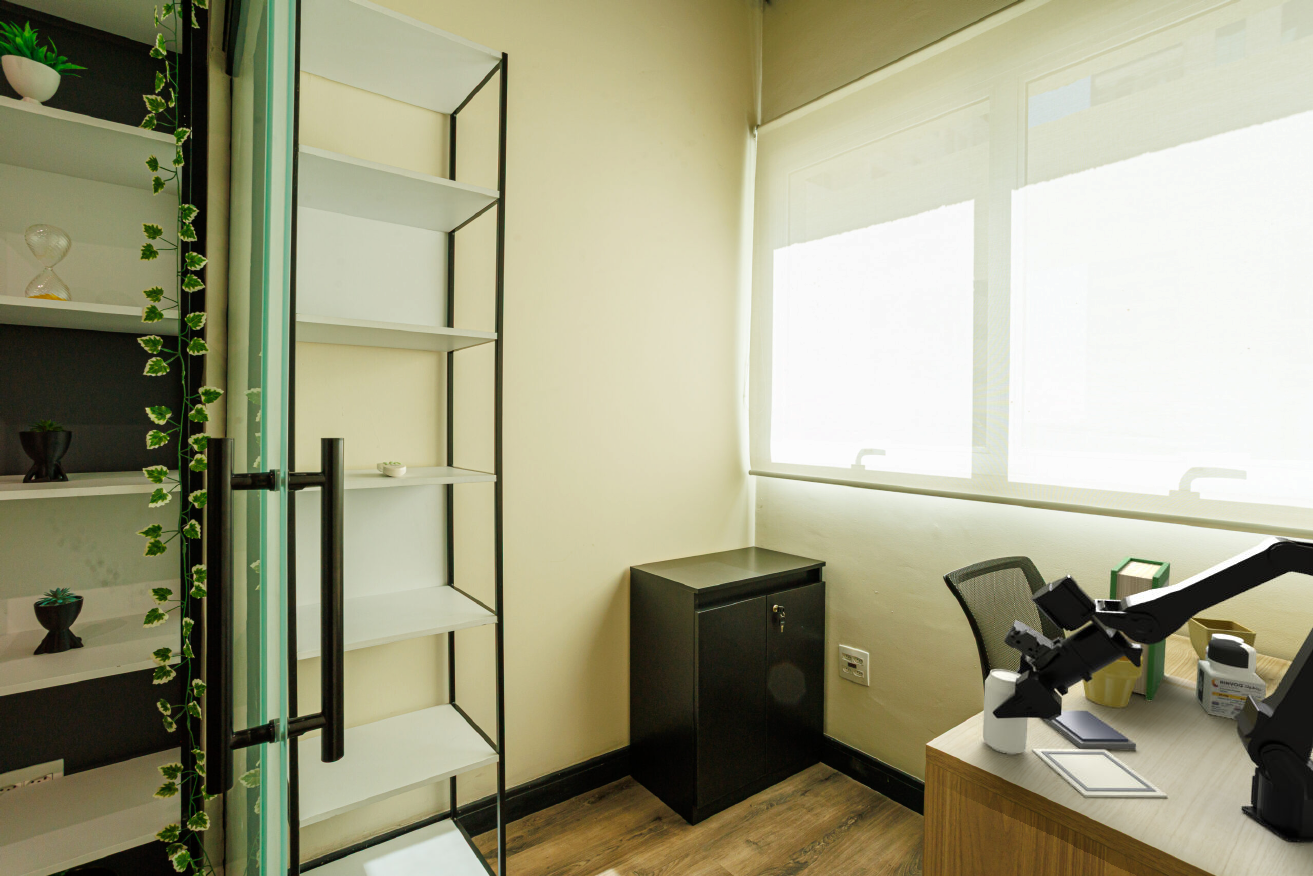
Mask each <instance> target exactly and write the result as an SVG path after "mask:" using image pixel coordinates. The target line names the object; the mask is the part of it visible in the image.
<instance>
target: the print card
mask: <svg viewBox="0 0 1313 876" xmlns="http://www.w3.org/2000/svg"><path fill="white" fill-rule="evenodd" d="M1031 751H1032V752H1033V753H1034V754H1035V753H1036V754H1037V757H1039V758H1040V759H1041V761H1043V762H1044V763H1046V764H1047V765H1048V766H1049V767H1050V768H1051V769H1052V770H1053V771H1054V772H1056V773H1057V774H1058V773H1059V774H1060V775H1061V776H1060V775H1059V774H1058V775H1059V776H1060V777H1061V778H1063V779H1064V780H1065V781H1066V782H1067V783H1068V782H1069V783H1068V784H1069V785H1071V786H1072V787H1073V788H1074V789H1075V790H1076V791H1078V792H1079V793H1080V794H1081V796H1083V797H1085V798H1168V794H1166V793H1165V792H1164V791H1163V790H1161V789H1159V787H1156V785H1154V784H1153V783H1151V781H1149V780H1148V779H1146V778H1145V777H1143V776H1142V775H1140V773H1138V772H1137V771H1135V770H1134V769H1132V767H1130V766H1128V765H1127V764H1125V763H1124V762H1123V761H1121V760H1120V759H1119V758H1117V757H1116V756H1115V755H1113V754H1112V753H1111V752H1109V751H1108V750H1106V749H1080V748H1032V749H1031ZM1036 754H1035V755H1036Z"/></svg>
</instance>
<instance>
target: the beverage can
mask: <svg viewBox="0 0 1313 876" xmlns="http://www.w3.org/2000/svg"><path fill="white" fill-rule="evenodd" d="M1020 676H1021V675H1020V674H1018V673H1016V672H1015V671H1012V670H1009V669H1005V668H995V669H991V670H990V672H989V674H988V676H987V678H986V679H985V681H984V698H983V699H984V700H983V719H982V720H983V721H982V722H983V725H982V739H983V741H984V742H985V744H987V745H988V746H989V747H990V746H991V747H992V748H991V747H990V748H991V749H992V750H994V749H995V750H994V751H996V750H997V752H998V751H1000V752H999V753H1001V752H1003V753H1002V754H1004V753H1007V754H1006V755H1018V754H1019V753H1024V752H1025V750H1027V749H1026V748H1027V741H1028V738H1027V737H1028V723H1029V722H1028V719H1029V718H1000V719H998V718H996V717H995V716H994V715H993V711H994V710H995V709H996V708H997V707H998V706H999V705H1000V704H1001V703H1002V702H1003V701H1005V700H1006V699H1007V698H1008V697H1009V696H1010V695H1011V694H1012V693H1014V692H1015V682H1016V678H1019V677H1020ZM1017 753H1018V754H1017Z"/></svg>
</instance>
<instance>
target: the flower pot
mask: <svg viewBox="0 0 1313 876" xmlns="http://www.w3.org/2000/svg"><path fill="white" fill-rule="evenodd" d="M1187 626H1188V627H1187V629H1188V635H1189V640H1190V643H1191V646H1192V649H1193V650H1194V651H1195V653H1196V655H1197V656H1198V658H1199V660H1200V659H1201V660H1203V661H1206V648H1207V646H1208V642H1209V641H1210V640H1212V634H1225V635H1231V636H1235V637H1238V638H1241V639H1243V640H1244V643H1245V644H1247V645H1249V646H1251V647H1253V648H1254V645H1255V640H1256V637H1257V632H1255V631H1254V630H1252V629H1251V628H1250V629H1249V628H1248V627H1247V626H1244V625H1242V624H1240V623H1238V622H1237V621H1234V620H1230V619H1219V618H1218V619H1217V618H1206V617H1196V616H1193V617H1192V618H1191V619H1190V620H1189V621H1188V622H1187Z"/></svg>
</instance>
